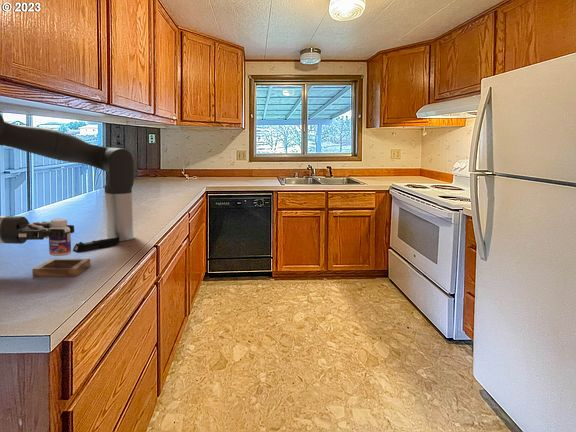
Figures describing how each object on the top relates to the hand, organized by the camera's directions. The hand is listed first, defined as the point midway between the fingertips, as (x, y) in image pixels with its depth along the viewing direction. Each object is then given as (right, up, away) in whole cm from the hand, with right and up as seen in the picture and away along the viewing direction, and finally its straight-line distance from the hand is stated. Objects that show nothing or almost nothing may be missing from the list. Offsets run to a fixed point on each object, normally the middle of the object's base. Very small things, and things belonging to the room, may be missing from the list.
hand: (68, 231), depth 127 cm
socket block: (-3, -11, +2) cm, 12 cm away
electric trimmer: (-4, -7, +29) cm, 30 cm away
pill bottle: (-3, -7, +1) cm, 7 cm away
